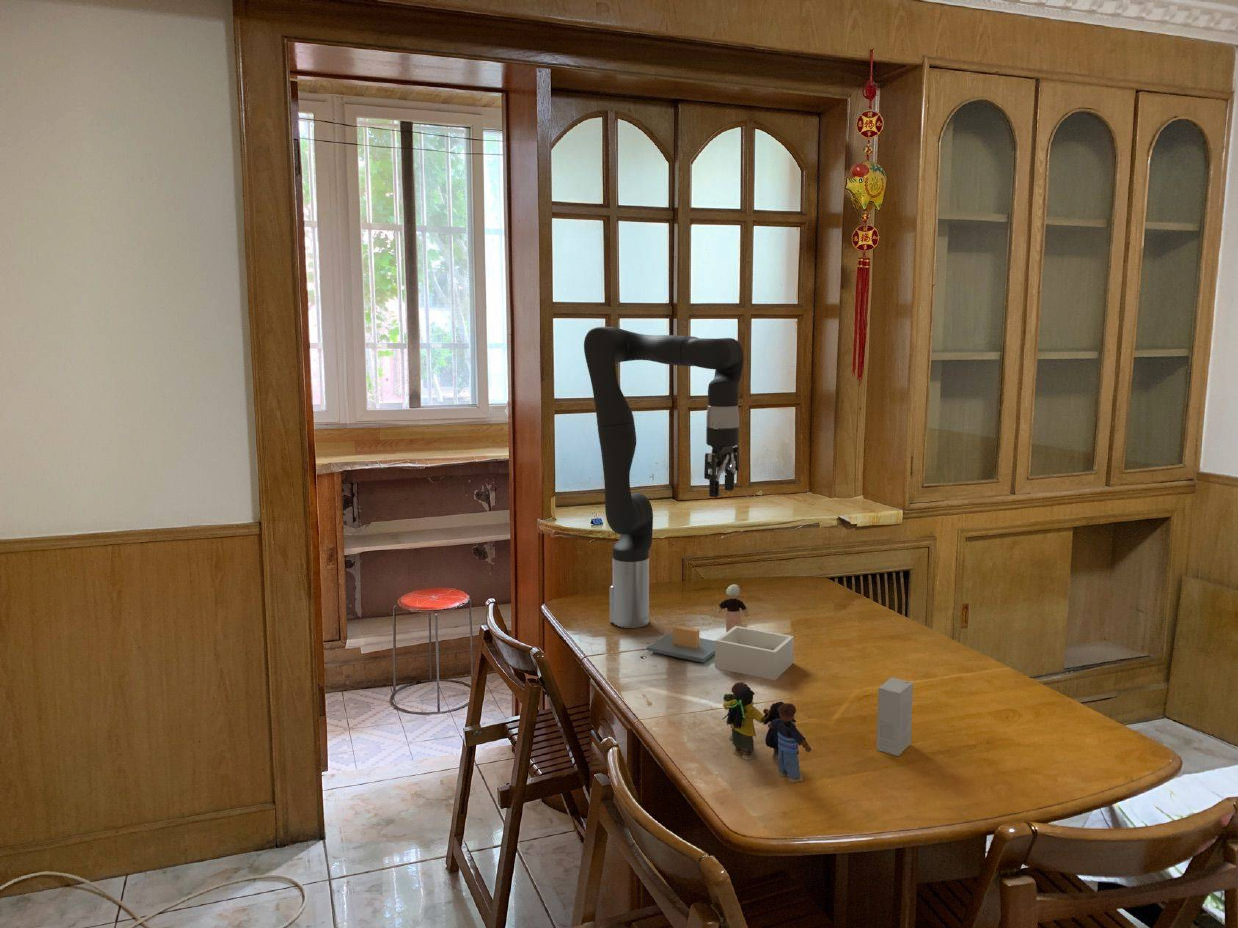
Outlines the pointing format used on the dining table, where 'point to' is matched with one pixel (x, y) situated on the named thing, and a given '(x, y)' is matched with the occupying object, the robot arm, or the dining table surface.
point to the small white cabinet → (754, 652)
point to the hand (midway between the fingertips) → (721, 493)
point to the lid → (684, 645)
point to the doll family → (778, 736)
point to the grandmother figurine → (733, 608)
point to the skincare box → (894, 716)
